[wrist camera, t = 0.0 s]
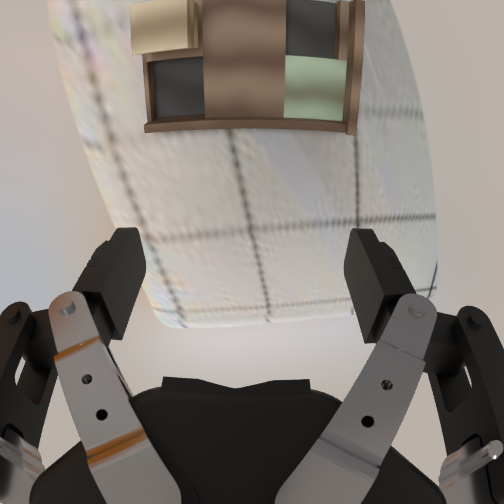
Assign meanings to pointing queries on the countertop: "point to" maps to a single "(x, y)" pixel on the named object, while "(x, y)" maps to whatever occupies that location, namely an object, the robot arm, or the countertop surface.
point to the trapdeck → (261, 68)
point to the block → (163, 26)
